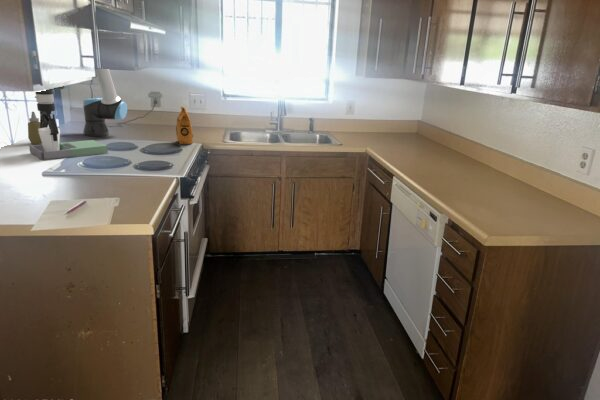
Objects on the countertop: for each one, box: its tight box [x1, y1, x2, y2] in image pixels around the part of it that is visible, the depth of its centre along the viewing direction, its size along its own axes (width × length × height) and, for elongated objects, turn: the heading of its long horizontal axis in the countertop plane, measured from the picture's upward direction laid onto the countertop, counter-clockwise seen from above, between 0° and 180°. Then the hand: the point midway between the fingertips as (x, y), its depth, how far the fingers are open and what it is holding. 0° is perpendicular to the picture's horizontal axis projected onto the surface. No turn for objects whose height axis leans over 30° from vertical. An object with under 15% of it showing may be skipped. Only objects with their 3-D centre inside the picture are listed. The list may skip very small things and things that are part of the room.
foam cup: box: [38, 126, 61, 152], centre depth 218 cm, size 10×9×13 cm
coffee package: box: [175, 106, 194, 145], centre depth 265 cm, size 10×12×22 cm
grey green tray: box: [28, 139, 109, 161], centre depth 226 cm, size 32×19×4 cm, turn 136°
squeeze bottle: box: [27, 111, 42, 145], centre depth 241 cm, size 8×8×18 cm
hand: (51, 145), depth 219 cm, fingers open, 13 cm apart
